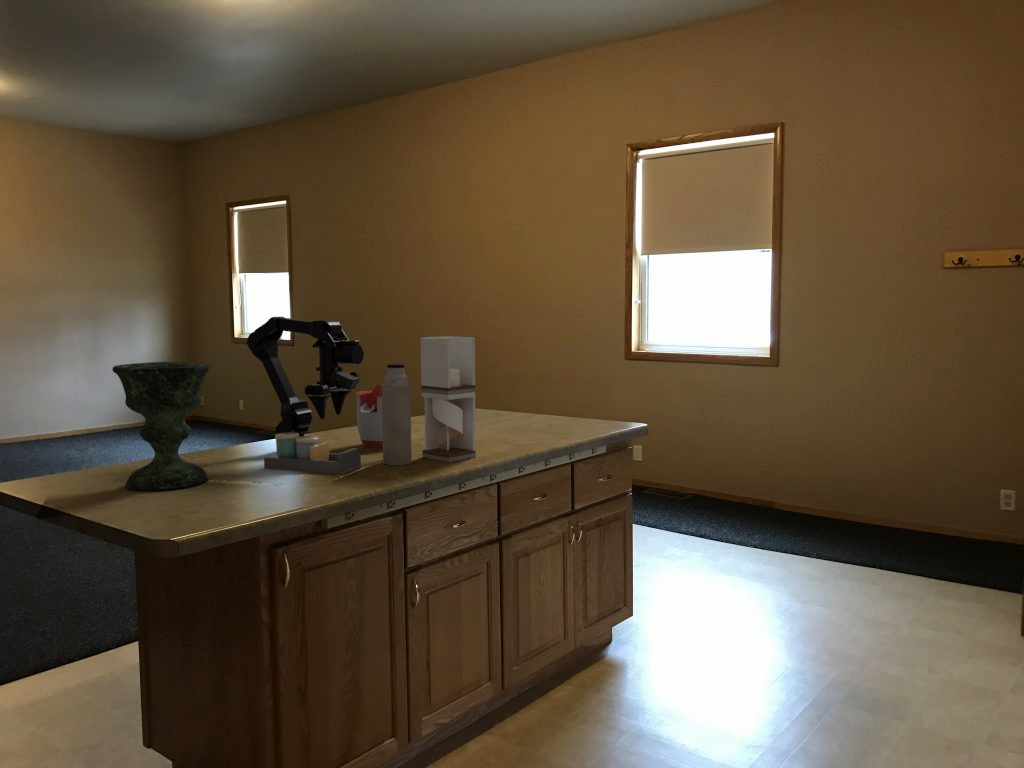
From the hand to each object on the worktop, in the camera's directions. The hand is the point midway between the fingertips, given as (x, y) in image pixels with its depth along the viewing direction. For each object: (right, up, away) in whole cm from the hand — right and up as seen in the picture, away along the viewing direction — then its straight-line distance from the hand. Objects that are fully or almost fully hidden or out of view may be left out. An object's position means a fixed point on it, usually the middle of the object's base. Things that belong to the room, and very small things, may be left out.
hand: (330, 416), depth 241 cm
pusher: (+1, -13, -18) cm, 22 cm away
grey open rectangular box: (-1, -14, -17) cm, 22 cm away
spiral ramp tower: (+34, -12, +1) cm, 37 cm away
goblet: (-34, -16, -33) cm, 50 cm away
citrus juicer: (+11, -10, +21) cm, 26 cm away
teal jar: (-8, -12, -15) cm, 21 cm away
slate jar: (-2, -13, -17) cm, 21 cm away
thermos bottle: (+20, -13, -7) cm, 25 cm away
